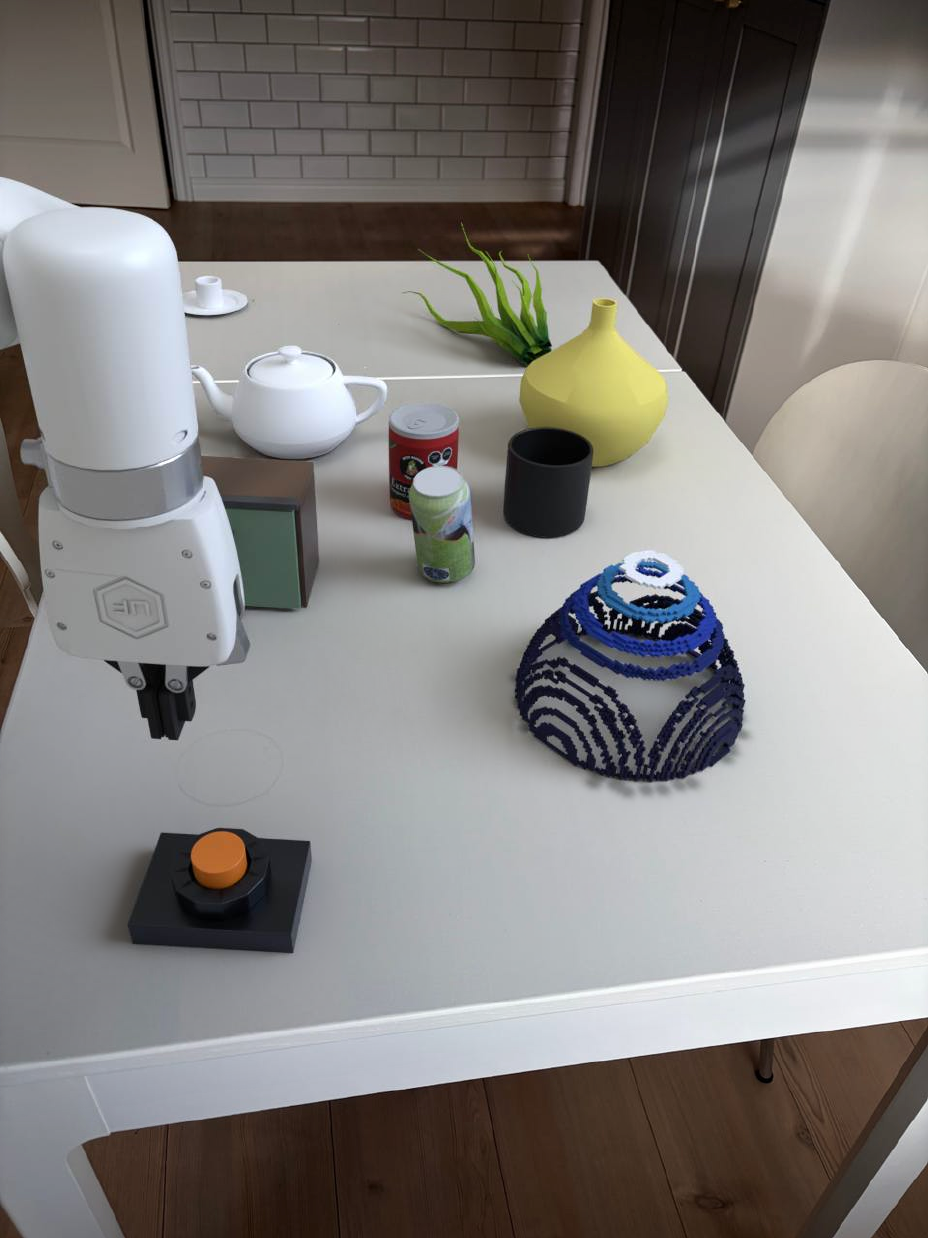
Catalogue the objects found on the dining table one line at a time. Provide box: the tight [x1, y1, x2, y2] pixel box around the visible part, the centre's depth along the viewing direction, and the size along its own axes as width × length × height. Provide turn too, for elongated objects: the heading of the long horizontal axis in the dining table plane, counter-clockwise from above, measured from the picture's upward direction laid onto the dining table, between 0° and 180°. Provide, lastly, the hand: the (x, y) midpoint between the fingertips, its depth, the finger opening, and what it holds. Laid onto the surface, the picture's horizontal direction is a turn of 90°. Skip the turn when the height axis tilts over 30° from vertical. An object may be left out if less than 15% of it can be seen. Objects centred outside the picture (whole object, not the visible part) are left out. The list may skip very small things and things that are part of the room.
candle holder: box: [182, 275, 249, 316], centre depth 161 cm, size 12×12×4 cm
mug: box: [502, 427, 594, 538], centre depth 112 cm, size 9×12×9 cm
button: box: [191, 831, 247, 889], centre depth 68 cm, size 4×4×2 cm
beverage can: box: [409, 466, 476, 584], centre depth 100 cm, size 6×7×12 cm
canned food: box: [388, 402, 460, 520], centre depth 112 cm, size 8×8×11 cm
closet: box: [201, 455, 320, 608], centre depth 97 cm, size 16×9×13 cm, turn 88°
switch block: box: [127, 827, 313, 954], centre depth 69 cm, size 11×8×4 cm
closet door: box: [224, 506, 302, 610], centre depth 92 cm, size 8×6×11 cm
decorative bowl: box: [513, 549, 746, 783], centre depth 85 cm, size 20×20×14 cm
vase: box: [518, 297, 669, 468], centre depth 122 cm, size 18×18×19 cm
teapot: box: [191, 344, 388, 460], centre depth 122 cm, size 25×16×12 cm, turn 92°
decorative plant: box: [402, 222, 553, 367], centre depth 152 cm, size 18×30×15 cm, turn 12°
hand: (171, 723), depth 62 cm, fingers closed
